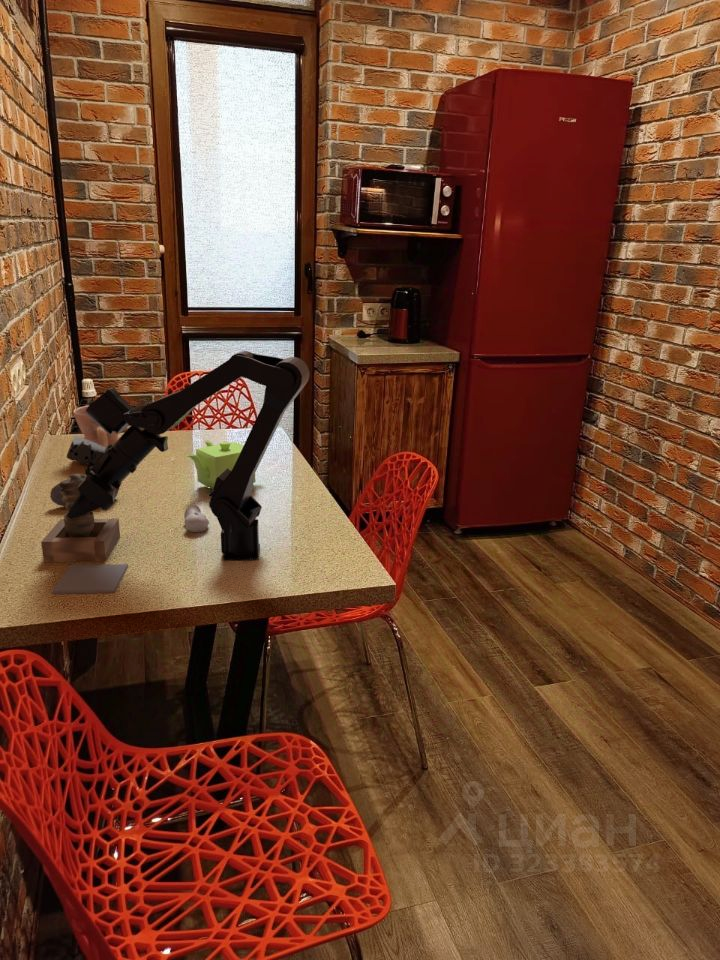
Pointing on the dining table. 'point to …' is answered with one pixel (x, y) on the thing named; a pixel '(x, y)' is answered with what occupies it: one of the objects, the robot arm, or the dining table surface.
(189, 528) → the pale two-lobed sculpture
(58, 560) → the socket block
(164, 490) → the dining table surface
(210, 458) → the kettle
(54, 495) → the perforated stone tool
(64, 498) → the light bulb
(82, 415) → the ceramic jug
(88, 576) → the rubber mat
